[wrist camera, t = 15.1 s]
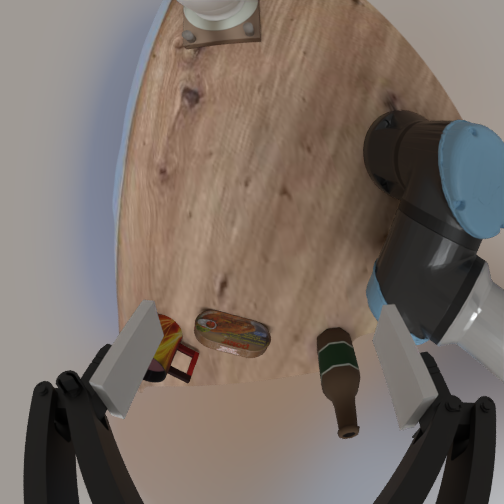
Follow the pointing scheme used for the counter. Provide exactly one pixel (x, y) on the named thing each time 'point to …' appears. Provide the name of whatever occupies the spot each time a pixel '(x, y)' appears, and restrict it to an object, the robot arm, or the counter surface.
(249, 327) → the tin
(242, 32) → the seat board
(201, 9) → the jar
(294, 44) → the counter surface
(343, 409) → the beer bottle
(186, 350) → the mug
